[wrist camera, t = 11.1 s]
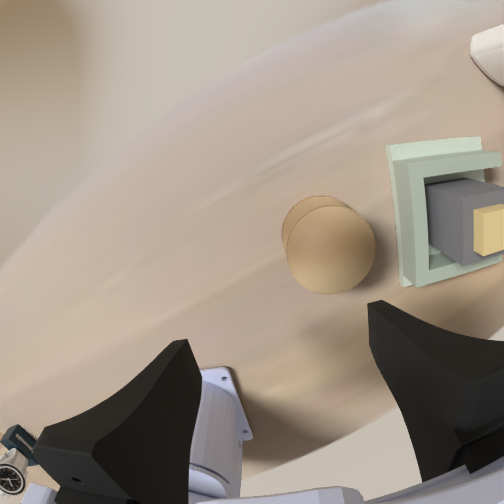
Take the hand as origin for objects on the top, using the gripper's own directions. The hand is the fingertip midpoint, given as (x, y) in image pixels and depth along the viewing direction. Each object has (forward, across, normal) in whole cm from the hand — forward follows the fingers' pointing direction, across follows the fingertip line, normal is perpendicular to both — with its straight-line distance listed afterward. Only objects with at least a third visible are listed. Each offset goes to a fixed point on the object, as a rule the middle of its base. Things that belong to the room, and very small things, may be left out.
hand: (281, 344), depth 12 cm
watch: (+10, +39, +20) cm, 45 cm away
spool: (+10, -4, -1) cm, 11 cm away
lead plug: (+9, -13, -1) cm, 16 cm away
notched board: (+10, -13, -1) cm, 16 cm away
